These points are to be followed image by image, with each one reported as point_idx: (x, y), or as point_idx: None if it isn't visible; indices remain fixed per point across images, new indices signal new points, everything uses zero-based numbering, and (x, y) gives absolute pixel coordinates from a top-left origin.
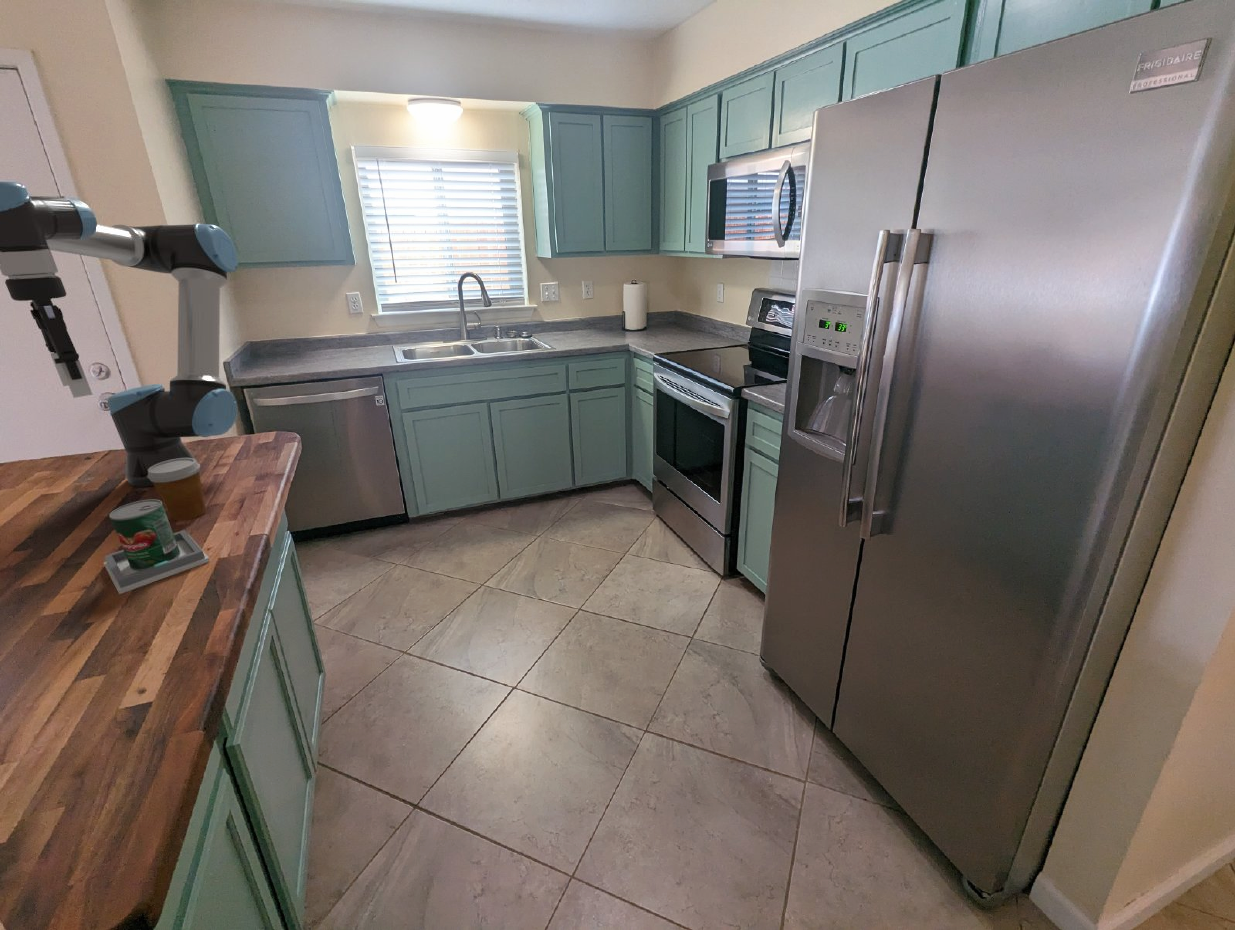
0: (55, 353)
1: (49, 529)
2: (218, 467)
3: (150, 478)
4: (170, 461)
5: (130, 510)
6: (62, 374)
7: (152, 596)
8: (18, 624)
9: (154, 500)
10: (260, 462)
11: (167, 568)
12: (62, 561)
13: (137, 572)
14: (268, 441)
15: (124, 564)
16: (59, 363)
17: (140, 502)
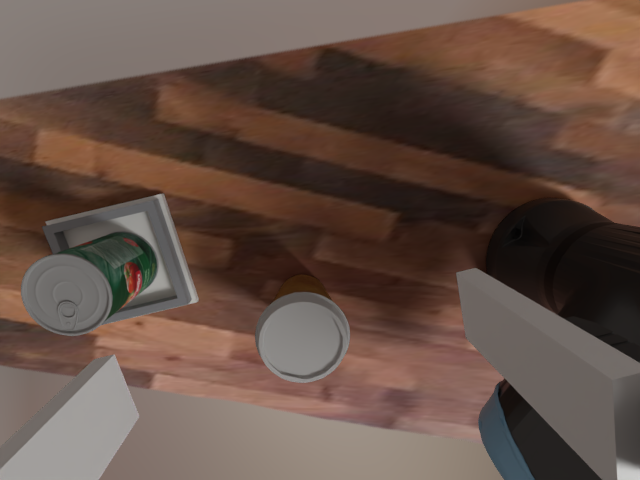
0: (615, 411)
1: (391, 91)
2: None
3: (279, 299)
4: (342, 336)
5: (72, 285)
6: (489, 310)
7: (19, 260)
8: (26, 104)
9: (99, 322)
10: (480, 399)
11: None
12: (224, 131)
13: (57, 249)
14: None
15: (135, 222)
16: (539, 355)
17: (108, 298)
